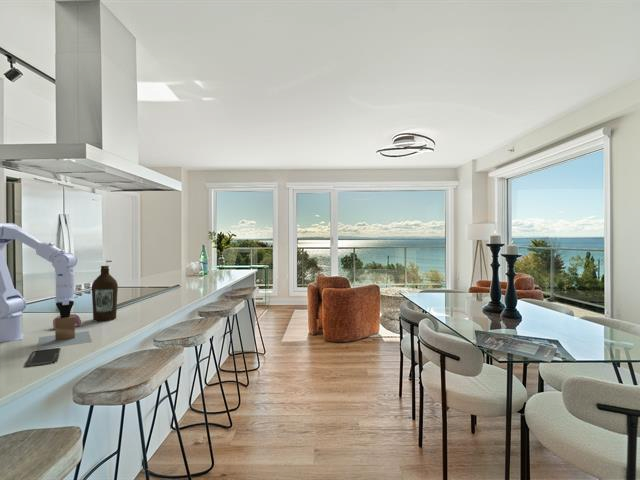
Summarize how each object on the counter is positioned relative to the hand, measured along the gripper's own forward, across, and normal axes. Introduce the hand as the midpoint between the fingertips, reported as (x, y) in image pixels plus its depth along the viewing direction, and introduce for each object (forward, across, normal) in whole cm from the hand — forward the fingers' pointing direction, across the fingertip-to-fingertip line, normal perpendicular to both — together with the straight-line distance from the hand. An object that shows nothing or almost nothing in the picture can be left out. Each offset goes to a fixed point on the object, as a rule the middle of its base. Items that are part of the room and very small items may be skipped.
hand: (65, 320), depth 141 cm
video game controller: (+7, +19, -1) cm, 20 cm away
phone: (+8, -22, +6) cm, 24 cm away
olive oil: (+7, +28, -16) cm, 33 cm away
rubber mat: (+7, -2, 0) cm, 7 cm away
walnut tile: (+6, -2, 0) cm, 7 cm away
